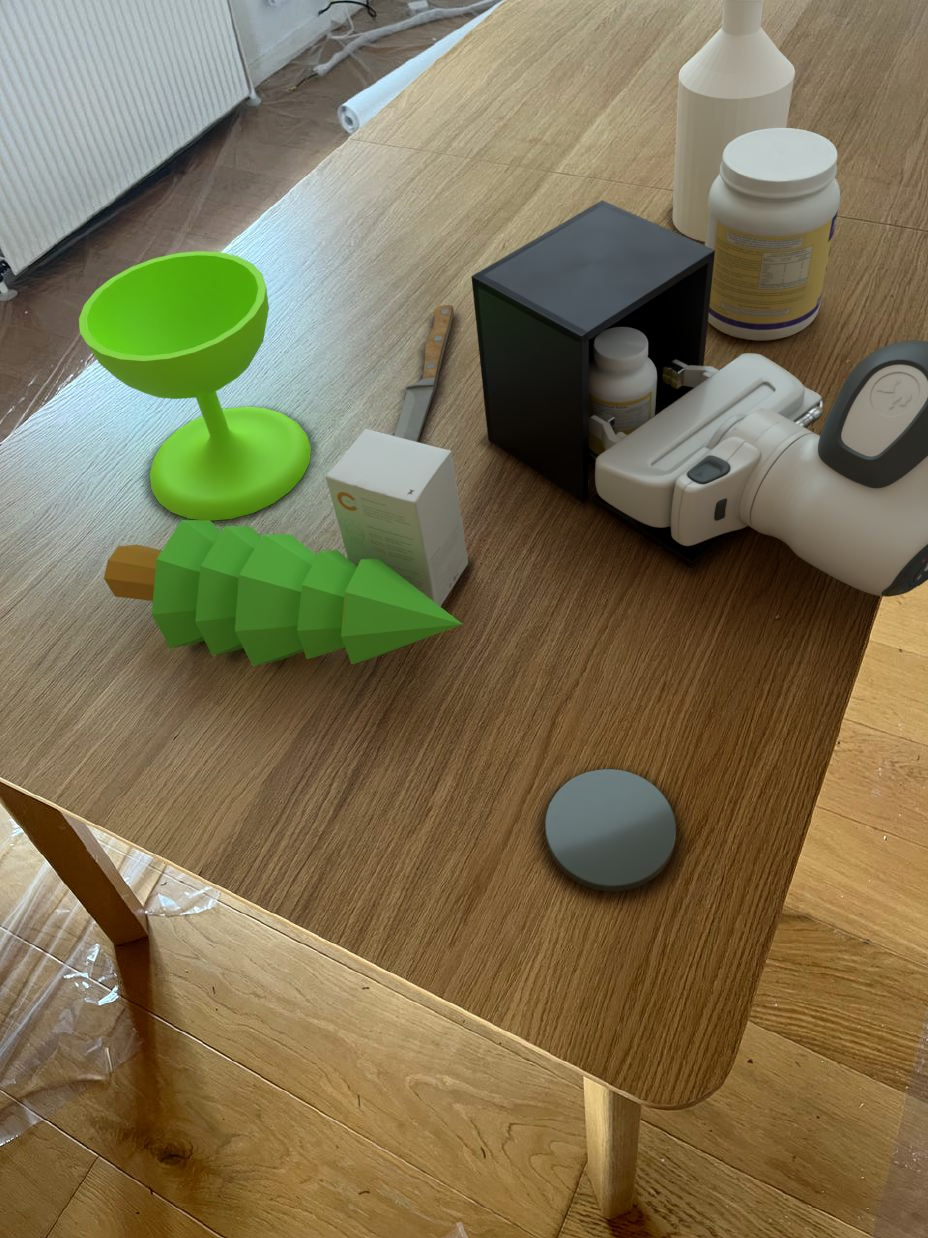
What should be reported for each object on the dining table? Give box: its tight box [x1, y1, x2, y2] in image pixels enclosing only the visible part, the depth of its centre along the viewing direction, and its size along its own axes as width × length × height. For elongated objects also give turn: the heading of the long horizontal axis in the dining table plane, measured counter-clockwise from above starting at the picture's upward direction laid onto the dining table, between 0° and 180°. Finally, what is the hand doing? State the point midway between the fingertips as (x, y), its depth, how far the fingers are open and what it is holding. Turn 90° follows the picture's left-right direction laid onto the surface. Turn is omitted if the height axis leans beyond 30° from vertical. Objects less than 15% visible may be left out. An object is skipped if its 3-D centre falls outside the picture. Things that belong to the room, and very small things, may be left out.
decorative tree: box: [103, 519, 463, 667], centre depth 81 cm, size 11×12×30 cm
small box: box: [325, 428, 469, 608], centre depth 83 cm, size 8×6×13 cm
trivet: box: [544, 768, 677, 893], centre depth 71 cm, size 9×9×1 cm
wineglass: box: [78, 250, 312, 522], centre depth 93 cm, size 16×16×18 cm
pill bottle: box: [589, 327, 657, 460], centre depth 92 cm, size 6×6×12 cm
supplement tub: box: [704, 127, 841, 341], centre depth 101 cm, size 12×12×17 cm
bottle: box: [672, 0, 796, 243], centre depth 110 cm, size 12×12×25 cm
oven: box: [471, 199, 740, 569], centre depth 88 cm, size 25×16×18 cm, turn 41°
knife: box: [393, 304, 455, 442], centre depth 103 cm, size 31×1×3 cm
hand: (631, 394), depth 91 cm, fingers open, 8 cm apart
